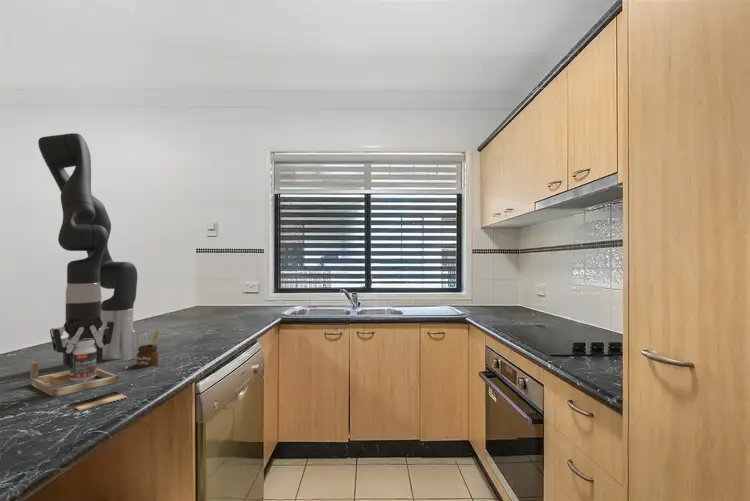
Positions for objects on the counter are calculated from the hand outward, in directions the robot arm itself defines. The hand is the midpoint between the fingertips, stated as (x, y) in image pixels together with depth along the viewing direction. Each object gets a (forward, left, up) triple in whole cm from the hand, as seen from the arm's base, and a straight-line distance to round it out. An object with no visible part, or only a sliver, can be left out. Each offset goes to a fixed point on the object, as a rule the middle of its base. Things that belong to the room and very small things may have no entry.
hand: (83, 364), depth 103 cm
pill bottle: (0, 0, -4) cm, 4 cm away
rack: (+1, -3, -7) cm, 7 cm away
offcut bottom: (+1, -7, -7) cm, 10 cm away
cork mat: (+1, +11, -7) cm, 13 cm away
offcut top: (+1, -7, -5) cm, 9 cm away
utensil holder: (-20, -7, -7) cm, 22 cm away
